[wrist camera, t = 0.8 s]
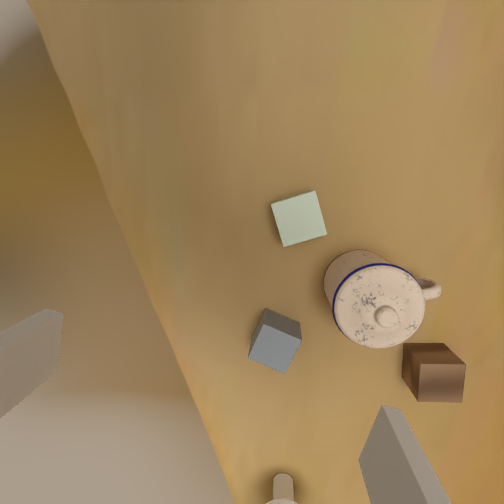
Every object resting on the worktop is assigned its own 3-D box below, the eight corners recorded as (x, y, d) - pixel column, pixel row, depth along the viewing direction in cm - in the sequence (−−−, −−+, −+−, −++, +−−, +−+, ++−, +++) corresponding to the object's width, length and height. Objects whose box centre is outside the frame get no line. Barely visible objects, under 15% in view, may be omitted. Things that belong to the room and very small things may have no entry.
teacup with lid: (326, 318, 40) (344, 369, 29) (317, 253, 38) (332, 279, 27) (419, 307, 39) (477, 355, 27) (414, 238, 37) (474, 259, 26)
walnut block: (403, 342, 40) (420, 363, 35) (443, 343, 39) (466, 364, 35) (401, 376, 41) (417, 401, 36) (440, 377, 40) (462, 402, 36)
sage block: (272, 202, 38) (270, 204, 33) (310, 190, 37) (315, 190, 32) (283, 239, 39) (283, 247, 34) (321, 228, 38) (327, 234, 33)
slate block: (265, 308, 41) (263, 323, 36) (299, 322, 41) (301, 340, 36) (251, 338, 42) (247, 358, 37) (284, 352, 42) (284, 373, 37)
